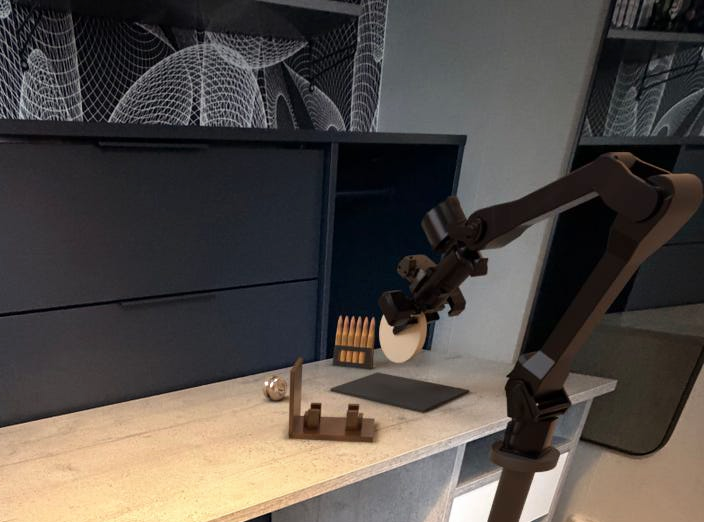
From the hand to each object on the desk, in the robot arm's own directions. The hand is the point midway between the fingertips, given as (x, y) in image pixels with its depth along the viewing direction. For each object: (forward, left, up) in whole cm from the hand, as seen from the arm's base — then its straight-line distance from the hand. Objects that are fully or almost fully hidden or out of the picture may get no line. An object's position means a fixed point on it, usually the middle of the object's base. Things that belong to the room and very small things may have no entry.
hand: (397, 332), depth 107 cm
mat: (-1, -2, -12) cm, 13 cm away
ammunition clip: (+21, -14, -13) cm, 28 cm away
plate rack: (-6, +27, -12) cm, 31 cm away
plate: (-1, 0, -6) cm, 6 cm away
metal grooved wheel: (+16, +20, -13) cm, 29 cm away
